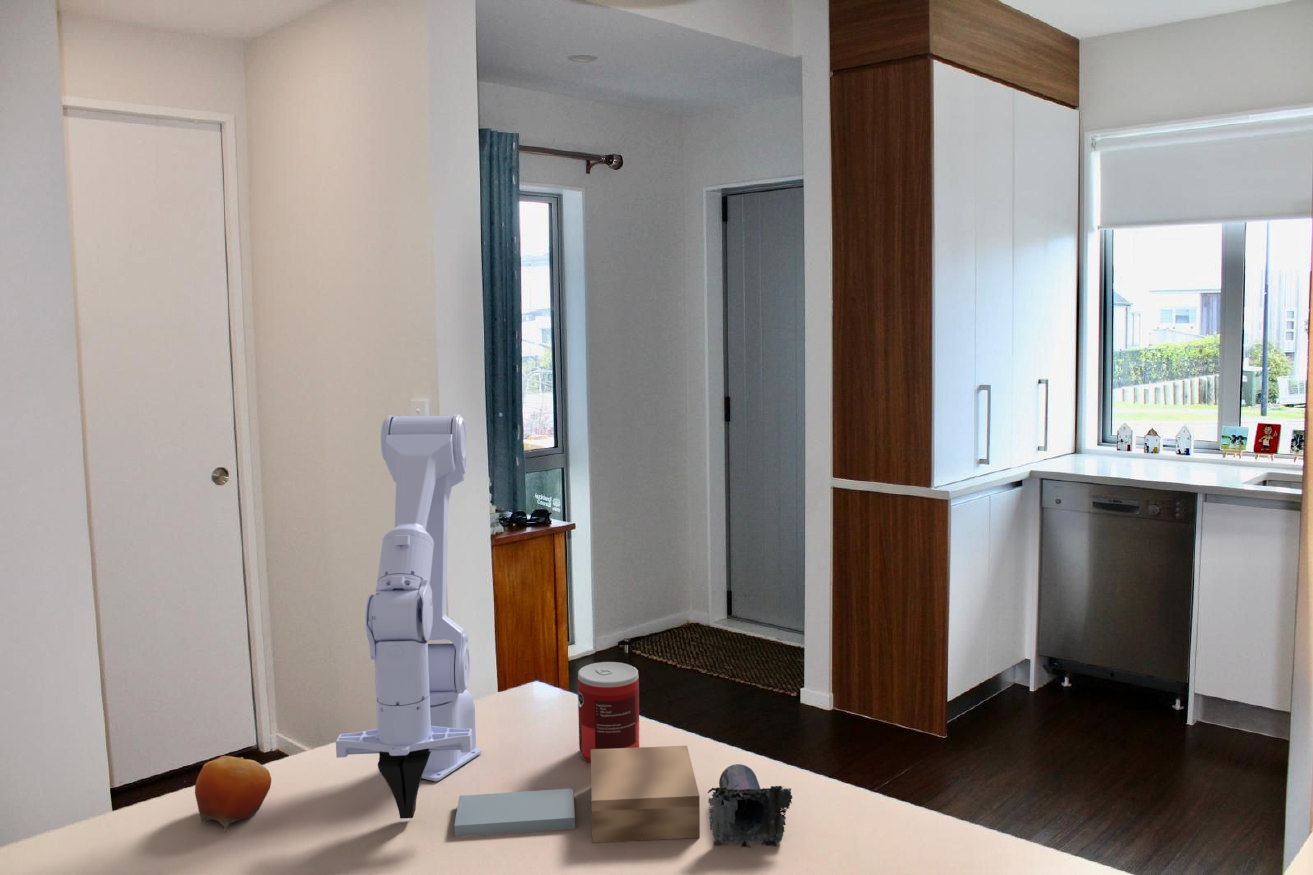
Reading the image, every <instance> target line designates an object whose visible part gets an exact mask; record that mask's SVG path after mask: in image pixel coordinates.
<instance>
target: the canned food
mask: <svg viewBox="0 0 1313 875" xmlns="http://www.w3.org/2000/svg"><path fill="white" fill-rule="evenodd" d="M639 681H640V680H639V670H638V669H637V668H636V667H635V666H632V665H631V664H628V663H624V662H618V661H617V662H616V661H602V662H594V663H590V664H587V665H585V666H583V667H581V668H579V670H578V671H577V700H578V701H577V703H578V704H577V706H578V707H577V709H578V744H579V745H578V746H579V747H578V749H579V752H580V756H581V757H582V759H583V760H584V761H586V762H587V763H589V764H591V749H614V748H639V747H640V682H639Z"/></svg>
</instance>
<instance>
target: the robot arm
mask: <svg viewBox="0 0 1313 875" xmlns="http://www.w3.org/2000/svg"><path fill="white" fill-rule="evenodd" d="M467 437H468V436H467V427H466V420H465V419H464V418H463V417H462V415H461V414H460V413H459V414H458V413H456V414H454V415H411V416H410V415H406V416H405V415H403V416H401V415H400V416H397V415H394V414H392V415H391V414H388V415H387V416H386V418H385V419H384V420H383V422H382V424H381V430H380V448H381V454H382V458H383V460H384V462H385V465H386V467H387V470H388V472H389V475H391V477H392V481H393V482H394V483H395V507H394V508H395V510H394V527H393V528H392V529H390V530H389V531H387V532H386V534H384V536H383V538H382V543H381V551H380V558H379V564H378V565H379V566H378V572H377V580H376V585H375V586H376V588H375V594H370V595H369V596H368V599H367V601H366V607H365V617H364V618H365V630H366V637H367V639H368V640H367V641H368V644H369V656H370V659H371V660H373V661H374V678H375V680H374V681H375V683H374V684H375V702H376V703H375V704H376V721H377V722H376V724H377V726H376V728H375V729H374V728H373V729H368V730H363V731H358V732H357V731H356V732H350V733H349V732H347V733H339V735H338V736H337V738H336V740H335V752H336V754H335V755H336V758H337V759H339V758H346V757H348V756H349V755H371V754H372V755H375V754H377V755H378V754H379V757H378V762H377V767H378V771H379V773H380V774H381V776H382V777H383V779H384V780H385V783H387V785H388V786H389V788H390V791H391V793H392V795H393V797H394V801H395V803H396V806H397V810H398V814H399V818H400V819H412V818H414V815H415V812H416V810H417V809H416V808H417V806H416V805H417V799H418V792H419V788H420V783H421V781H422V779H425V780H429V781H432V782H438V781H440V780H442V779H443V778H445V777H446V776H448V775H449V774H451V773H452V772H455V771H456V770H457V769H458V768H460V767H461V766H463V765H465V764H467V763H468V762H469V761H472V760H473V759H474V758H476V757H477V756H478V755H480V754H482V752H483V749H482V748H480V747H477V738H476V737H477V735H476V733H477V732H476V730H477V728H476V706H475V705H476V704H475V701H474V699H473V697H472V694H471V692H470V691H469V690H468V688H469V682H470V673H471V671H470V670H471V660H470V659H471V657H470V656H471V655H470V649H469V636H468V634H467V632H466V629H464V628H463V627H462V626H461V625H459V624H458V623H457V622H455V621H454V620H452V619H451V618H450V617H449V616H448V615H447V603H448V602H447V595H448V594H447V592H448V590H447V589H448V540H449V538H448V535H449V534H448V532H449V523H448V522H449V501H450V497H451V493H452V490H453V489H452V488H453V487H455V486H457V485H458V484H460V483H462V482H463V481H465V474H466V473H467V444H468V443H467V442H468V440H467V439H468V438H467ZM431 640H432V641H433V640H436V641H437V640H447V641H450V642H451V643H450V642H449V643H448V642H447V643H429V642H428V641H431Z"/></svg>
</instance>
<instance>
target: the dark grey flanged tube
mask: <svg viewBox="0 0 1313 875" xmlns="http://www.w3.org/2000/svg"><path fill="white" fill-rule="evenodd" d="M718 784H719V785H718V786H719V787H712V788H711V789H709V790H708V791H707V794H710V793H711V792H712V791H713V792H712V794H711V796H712V797H708V802H707V803H708V804H709V806H708V807H709V809H708V814H709V817H708V818H709V828H710V829H709V830H710V831H712V832H713V833H712V835H713V838H714V841H713V844H714V845H715V844H727V845H729V844H734V845H740V844H741V848H743V847H744V848H745V847H749V848H752V847H751V846H750V845H749V844H757V843H761V844H762V845H764V846H768V845H773V846H774V847H778V845H779V843H781V842H782V840H783V838H784V837H783V836H784V832H785V826H786V825H787V824H786V820H787V818H786V812H787V810H788V809H789V810H790V805H792V804H793V802H792V799H793V795H792V792H791V791H792V788H786V787H785V786H782V785H774V786H773V785H771V786H770V788H768V787H766V788H765V787H763V788H761V787H760V783H759V780H758V778H757V776H756V773H755V771H754V770H752V768H750V767H749V766H747V765H745V764H740V763H738V764H737V763H735V764H732V765H729V766H727V767H726V768H725V769H724V770H723V771H722V772H721V775H720V777H719V780H718ZM738 801H742V802H741V804H744V806H743V809H740V810H739V808H738V805H739V802H738ZM711 807H712V808H711ZM712 835H710V836H712Z"/></svg>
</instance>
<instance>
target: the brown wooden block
mask: <svg viewBox="0 0 1313 875" xmlns="http://www.w3.org/2000/svg"><path fill="white" fill-rule="evenodd" d="M695 776H696V775H695V772H694V768H693V765H692V759H691V755H690V753H689V748H688V745H670V746H668V745H667V746H646V747H645V746H643V747H640V746H639V748H614V749H591V763H590V782H591V785H590V786H591V828H592V829H591V833H592V834H591V836H592V837H591V838H592V841H591V842H592V843H593V844H594V843H614V842H615V843H616V842H635V841H636V842H638V841H655V840H656V841H657V840H658V841H659V840H676V839H677V840H678V839H698V838H700V837H701V827H700V826H701V825H700V824H701V823H700V820H701V819H700V818H701V816H700V814H701V812H700V811H701V809H700V806H701V805H700V804H701V803H700V792H699V788H698V784H697V780H696V777H695Z"/></svg>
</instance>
